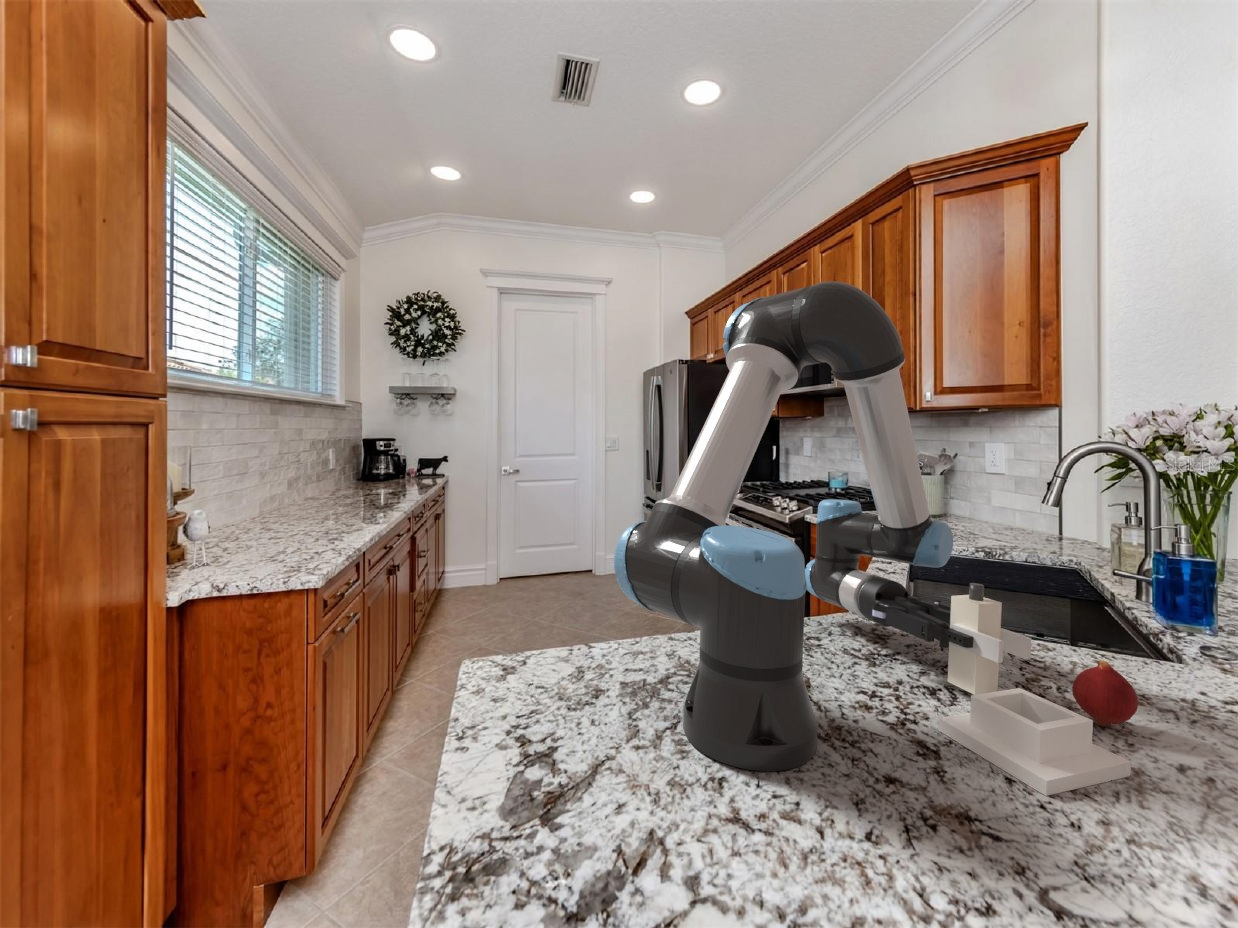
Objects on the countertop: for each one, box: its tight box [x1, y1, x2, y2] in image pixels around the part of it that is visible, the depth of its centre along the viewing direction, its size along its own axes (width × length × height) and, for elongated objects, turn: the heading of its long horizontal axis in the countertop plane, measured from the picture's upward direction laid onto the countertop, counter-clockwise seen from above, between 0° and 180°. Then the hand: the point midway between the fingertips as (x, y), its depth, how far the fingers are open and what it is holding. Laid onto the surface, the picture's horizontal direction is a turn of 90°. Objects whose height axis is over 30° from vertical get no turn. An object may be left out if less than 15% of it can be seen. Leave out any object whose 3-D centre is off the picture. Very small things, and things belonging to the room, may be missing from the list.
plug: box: [947, 582, 1003, 695], centre depth 70 cm, size 4×4×14 cm
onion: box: [1071, 660, 1139, 727], centre depth 63 cm, size 6×6×8 cm
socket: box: [937, 687, 1132, 797], centre depth 57 cm, size 12×12×5 cm
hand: (1014, 650), depth 65 cm, fingers closed on plug, 4 cm apart
